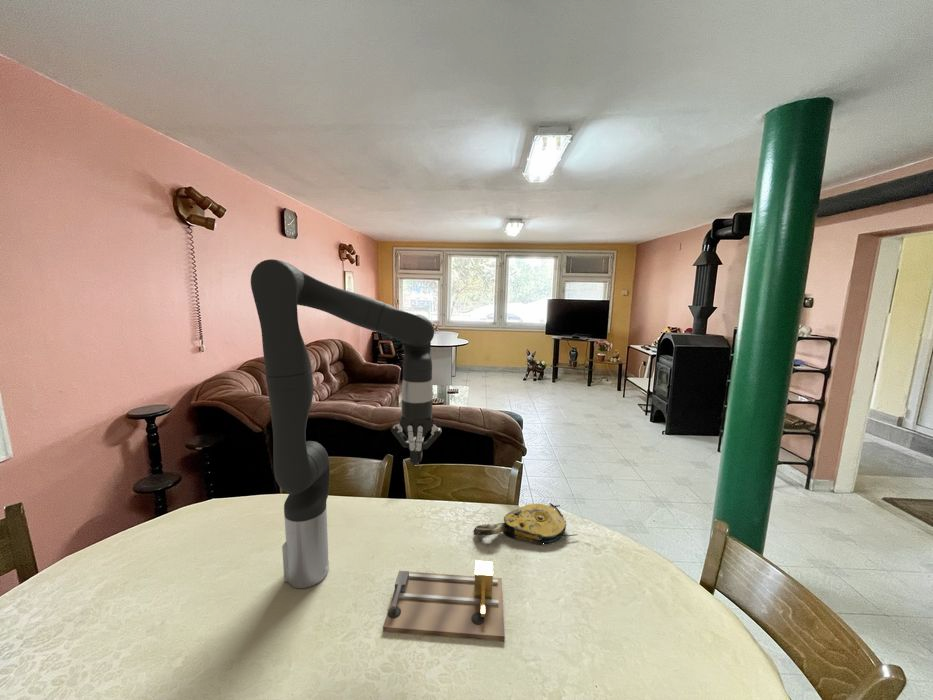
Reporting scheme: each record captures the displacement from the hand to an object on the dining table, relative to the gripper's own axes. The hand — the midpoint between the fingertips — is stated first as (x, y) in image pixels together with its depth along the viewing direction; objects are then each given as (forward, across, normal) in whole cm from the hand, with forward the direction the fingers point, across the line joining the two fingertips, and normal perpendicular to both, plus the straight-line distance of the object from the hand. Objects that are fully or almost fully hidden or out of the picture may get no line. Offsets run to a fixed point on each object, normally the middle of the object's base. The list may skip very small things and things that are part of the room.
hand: (416, 462), depth 91 cm
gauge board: (+27, +10, -14) cm, 32 cm away
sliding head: (+25, +18, -14) cm, 34 cm away
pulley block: (+27, +30, +14) cm, 42 cm away
